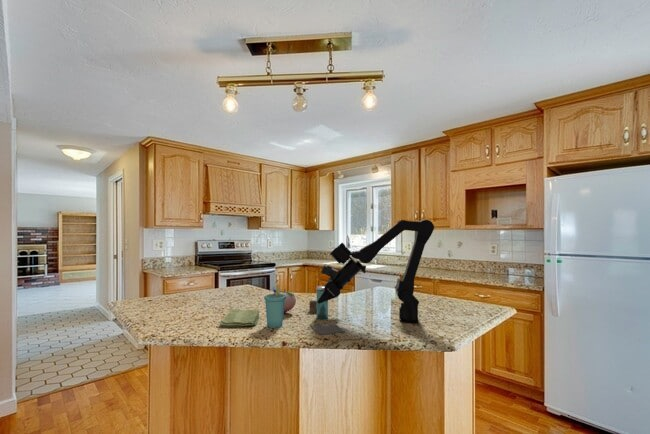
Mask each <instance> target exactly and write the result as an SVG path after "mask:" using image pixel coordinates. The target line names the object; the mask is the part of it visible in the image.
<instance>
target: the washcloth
mask: <svg viewBox="0 0 650 434" xmlns="http://www.w3.org/2000/svg"><path fill="white" fill-rule="evenodd" d="M259 318H260V310H259V309H237V308H234V309H232V308H231V309H230V310H229V311H228V313H227V314H226V315H225V317H223V318H222V319H221V321H220V322H219V327H221V328H232V327H233V328H238V327H257V325H258V321H259Z"/></svg>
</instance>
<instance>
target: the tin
mask: <svg viewBox="0 0 650 434" xmlns="http://www.w3.org/2000/svg"><path fill="white" fill-rule="evenodd" d="M324 286H325V285H317V286H316V299H317V301H318V299H319V298H320V297H321V295H322V294H323V292H324V291H325V289H324ZM316 319H318V320H327V319H329V300H328V301H325V302H322V303H320V304H319V303H318V302H317V312H316Z"/></svg>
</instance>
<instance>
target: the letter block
mask: <svg viewBox="0 0 650 434" xmlns="http://www.w3.org/2000/svg"><path fill="white" fill-rule="evenodd" d="M309 313H317V298H311V299H310V300H309Z"/></svg>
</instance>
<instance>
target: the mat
mask: <svg viewBox="0 0 650 434" xmlns="http://www.w3.org/2000/svg"><path fill="white" fill-rule="evenodd" d="M311 327H312V328H311V329H312V330H314V331H315V332H316V333H317V334H318V335H319V336H323V335H333V334H343V333H345V330H344V329H342V328H341V327H340V326H339V325H337V324H336V323H330V324H329V323H328V324H319V325H311Z"/></svg>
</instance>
